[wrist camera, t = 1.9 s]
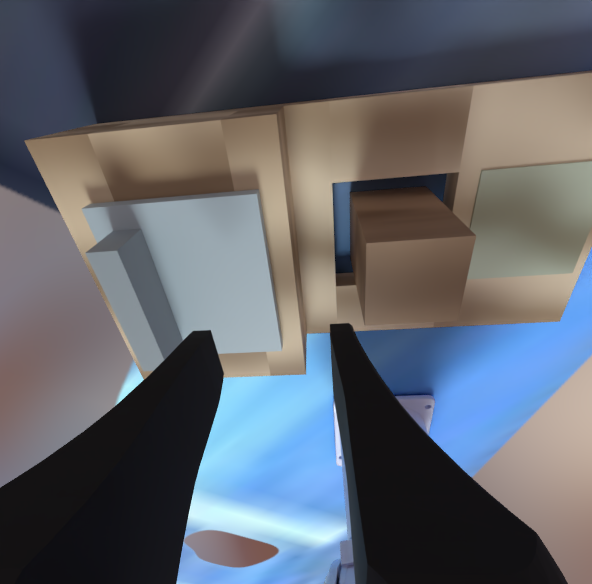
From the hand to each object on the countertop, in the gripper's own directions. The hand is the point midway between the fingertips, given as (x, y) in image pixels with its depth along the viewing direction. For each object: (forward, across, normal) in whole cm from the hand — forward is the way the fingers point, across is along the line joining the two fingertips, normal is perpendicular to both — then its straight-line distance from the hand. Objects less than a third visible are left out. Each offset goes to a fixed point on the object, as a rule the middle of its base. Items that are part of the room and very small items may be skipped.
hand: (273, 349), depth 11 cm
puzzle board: (+10, -4, 0) cm, 11 cm away
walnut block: (+10, -6, 0) cm, 11 cm away
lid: (+5, +4, 0) cm, 6 cm away
